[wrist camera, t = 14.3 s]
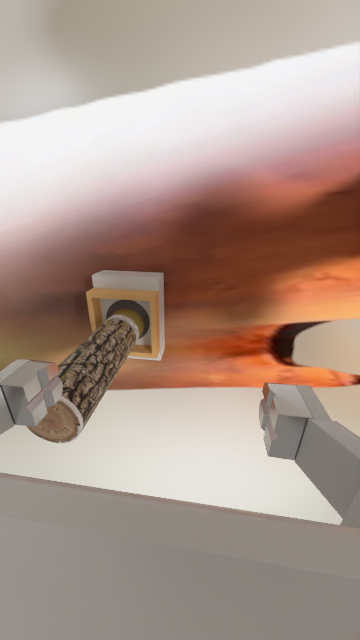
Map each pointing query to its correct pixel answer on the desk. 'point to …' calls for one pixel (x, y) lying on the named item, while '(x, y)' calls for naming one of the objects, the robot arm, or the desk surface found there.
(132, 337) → the paper tube
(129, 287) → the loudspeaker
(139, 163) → the desk surface
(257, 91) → the desk surface
